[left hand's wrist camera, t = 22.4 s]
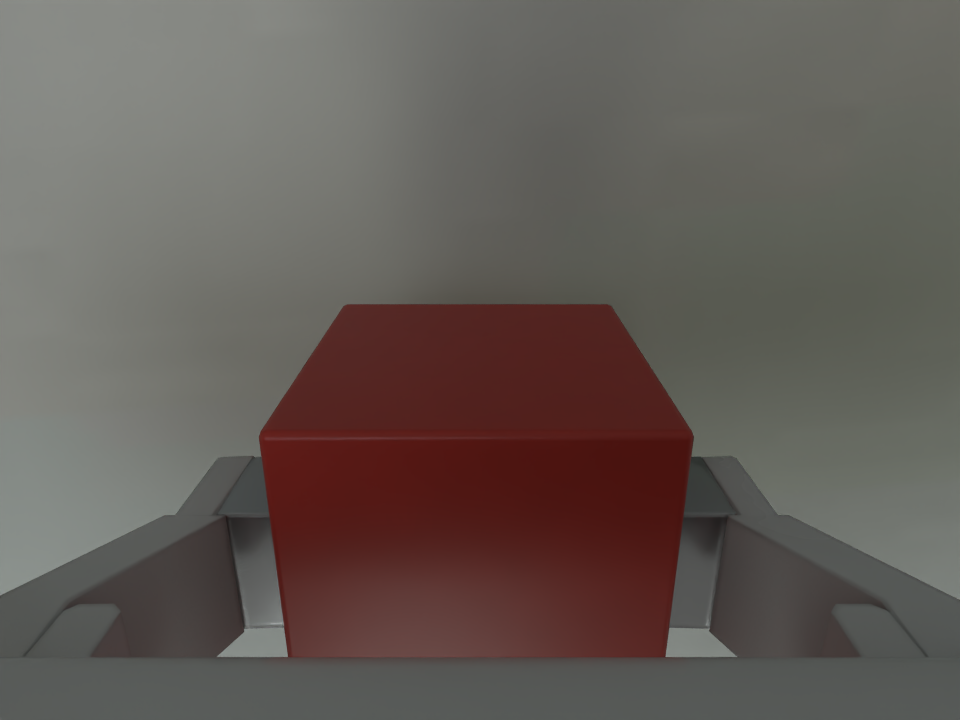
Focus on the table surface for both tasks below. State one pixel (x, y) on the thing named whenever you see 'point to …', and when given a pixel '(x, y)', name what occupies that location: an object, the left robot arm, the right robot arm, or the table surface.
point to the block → (476, 486)
